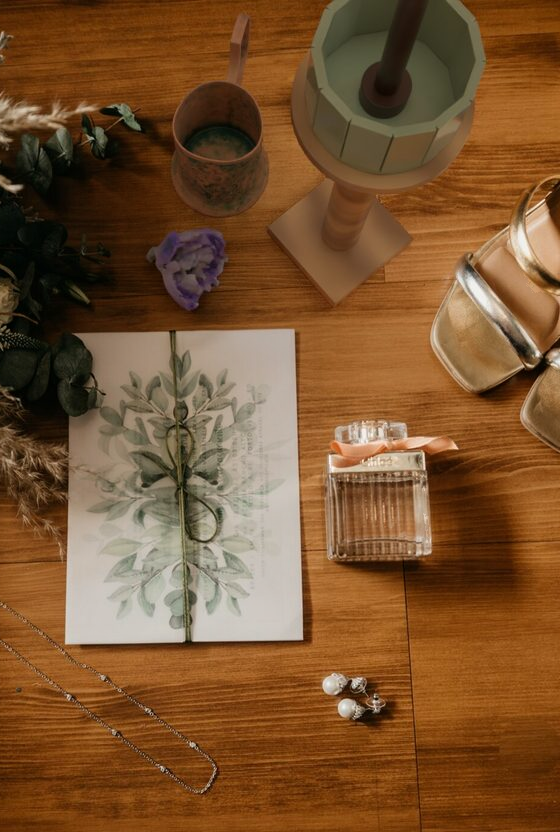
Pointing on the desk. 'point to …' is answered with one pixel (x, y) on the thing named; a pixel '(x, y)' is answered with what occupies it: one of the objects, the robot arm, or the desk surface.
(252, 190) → the mug
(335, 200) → the stand
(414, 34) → the dark brown stemmed peg
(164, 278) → the flower
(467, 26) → the bowl
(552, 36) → the desk surface
